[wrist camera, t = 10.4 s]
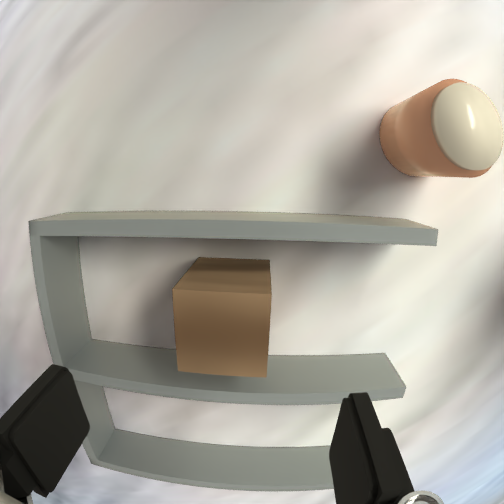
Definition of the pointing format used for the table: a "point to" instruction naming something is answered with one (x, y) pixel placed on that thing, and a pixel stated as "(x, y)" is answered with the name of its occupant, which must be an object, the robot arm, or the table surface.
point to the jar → (443, 132)
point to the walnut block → (223, 317)
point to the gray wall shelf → (196, 384)
